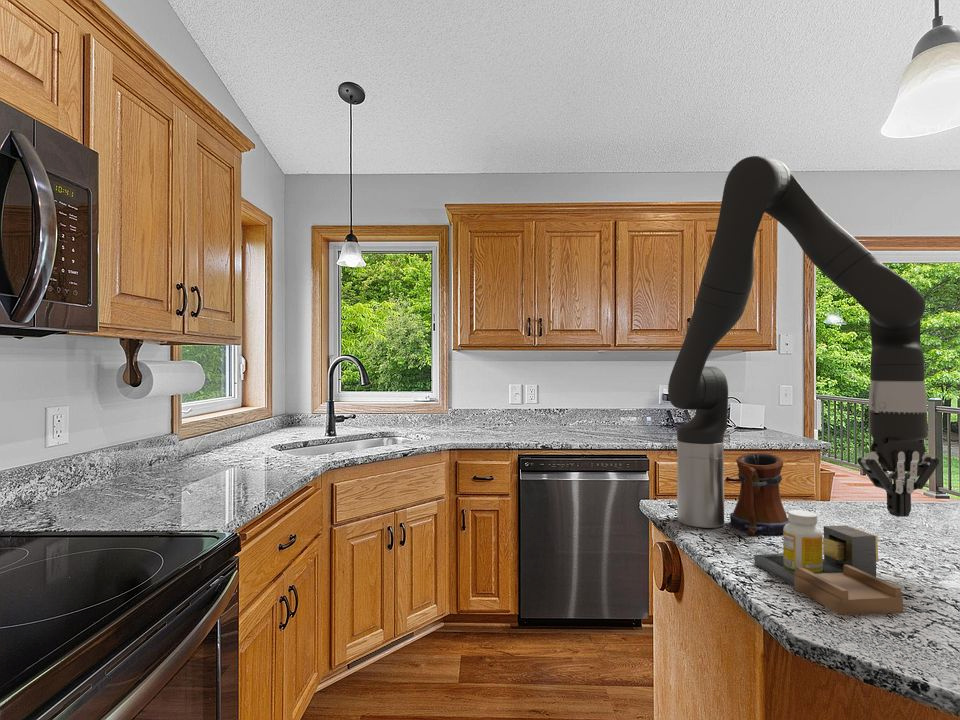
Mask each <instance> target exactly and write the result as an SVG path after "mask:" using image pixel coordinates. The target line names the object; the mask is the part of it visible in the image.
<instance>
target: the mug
mask: <svg viewBox="0 0 960 720" xmlns="http://www.w3.org/2000/svg"><path fill="white" fill-rule="evenodd" d="M735 462H736V465H737V467H738V470H737V471H738V473H737V475H738V477H737V478H738V479H739V481H740V488H739V489H740V490H739V495H738V499H737V503H736V505H735V508H734V510H733V512H730V514H729V518H730V519H729V520H730V525H731V527H732V526H733V528H734V529H737V530H740V531H743V532H746V531H747V532H746V533H747V535H748V536H752V537H753V536H755V535H756V534H755V533H757V535H764V534H765V535H767V536H776V535H777V534H778V535H783V529H784V526H785V525H786V524H788V523H790V521H789V519H788V516H787V515H788V514H787V513H786V510H785V507H784V506H783V502H782V498H781V492H780V491H781V490H780V483H781V481H782V480H783V477H782V475H781V472H782V468H783V467H784V459H783V458H781V457H779V456H777V455H775V454H772V453H769V452H756V453H755V452H750V453H745V454H743V455H740V456H738V458H737V459H736V460H735Z"/></svg>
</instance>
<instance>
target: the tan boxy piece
mask: <svg viewBox="0 0 960 720" xmlns="http://www.w3.org/2000/svg"><path fill="white" fill-rule="evenodd" d="M851 527H852V528H855V529H857V530H860V531H863V532H866V533H869V534H871V535H874V536H876V563H878V562H879V537H878V535H876V534H873V533H870V532H868V531H864V530H861V529H858V528H856V527H853V526H851ZM822 554H823V555H824V554H825V555H827V556H830V557H832V558H834V559H836V560H846V541H845V540H842V539H840V538H824V537H822Z"/></svg>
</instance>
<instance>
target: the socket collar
mask: <svg viewBox="0 0 960 720" xmlns="http://www.w3.org/2000/svg"><path fill="white" fill-rule="evenodd" d="M753 557H754V559H753V560H754V562H753V563H754V566H755V565H756V566H757V567H759V568H760V569H762V570H764V571H765V572H768V573H769V574H771V575H773V576H775V577H777V578H778V579H780V580H781V581H784V582H785V583H787V584H789V585H791V586H792V587H794V575H796V574H795V573H793V572H791V571H789V570H788V569H786V568H784V565H783V561H784V560H783V553H770V554H767V553H766V554H754V555H753ZM823 572H824V573H817V574H831V573H843V568H842V567H840V566H837V565H835V564H833V563H831V562H829V561H827V560H824V558H823Z"/></svg>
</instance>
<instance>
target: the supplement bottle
mask: <svg viewBox="0 0 960 720" xmlns="http://www.w3.org/2000/svg"><path fill="white" fill-rule="evenodd" d="M787 515H788V516H787V518H788V519H789V521H790V523H788V524H786V525H785V526H784V529H783V534H782V535H783V539H782V540H783V541H782V546H783V552H782V554H783V560H784V561H783V565H782V566H783V567H784V568H786V569H788V570H789V571H791V572H793V573H795V574H796V567H803V568H805V569H807V570H809V571H811V572H813V573H815V574H817V573H823V572H824V571H823V559H824V554H823V532H822V530H821V528H819V527H818V526H816V525H817V524H818V521H819V520H818V514H817V513H815V512H812V511H809V510H808V511H807V510H801V509H800V510H799V509H797V510H796V509H794V510H789V511H788V512H787Z"/></svg>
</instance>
